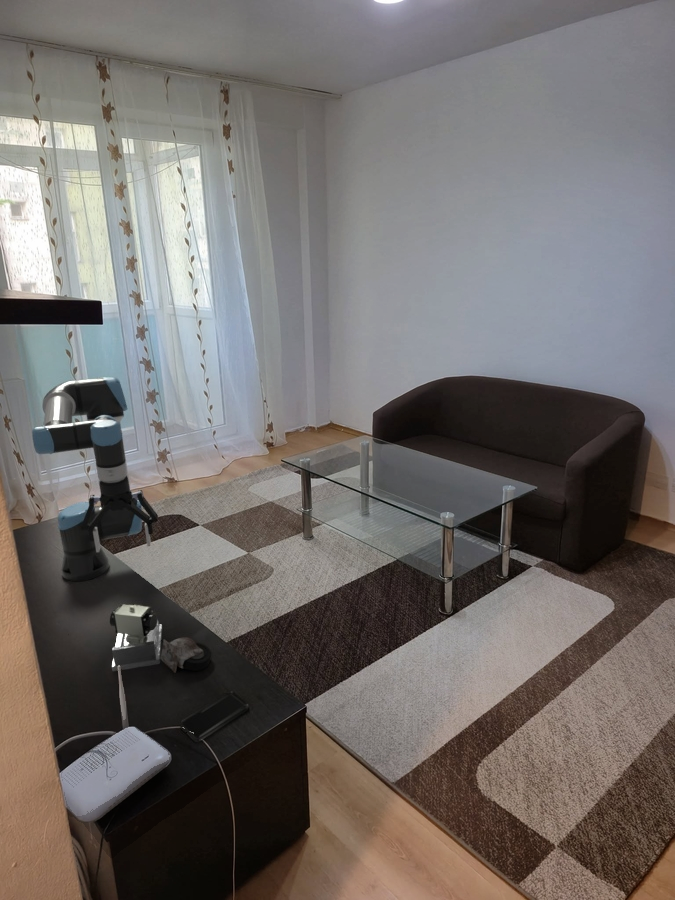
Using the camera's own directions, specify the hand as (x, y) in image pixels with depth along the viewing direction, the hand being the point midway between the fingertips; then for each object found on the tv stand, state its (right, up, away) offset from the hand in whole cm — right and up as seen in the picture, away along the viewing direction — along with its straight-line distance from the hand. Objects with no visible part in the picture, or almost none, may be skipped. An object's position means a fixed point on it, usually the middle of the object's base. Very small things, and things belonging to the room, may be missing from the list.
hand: (124, 547), depth 174 cm
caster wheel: (+21, -30, -9) cm, 37 cm away
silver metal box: (+5, -28, -3) cm, 28 cm away
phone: (+31, -36, -27) cm, 55 cm away
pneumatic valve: (+5, -26, -3) cm, 27 cm away
